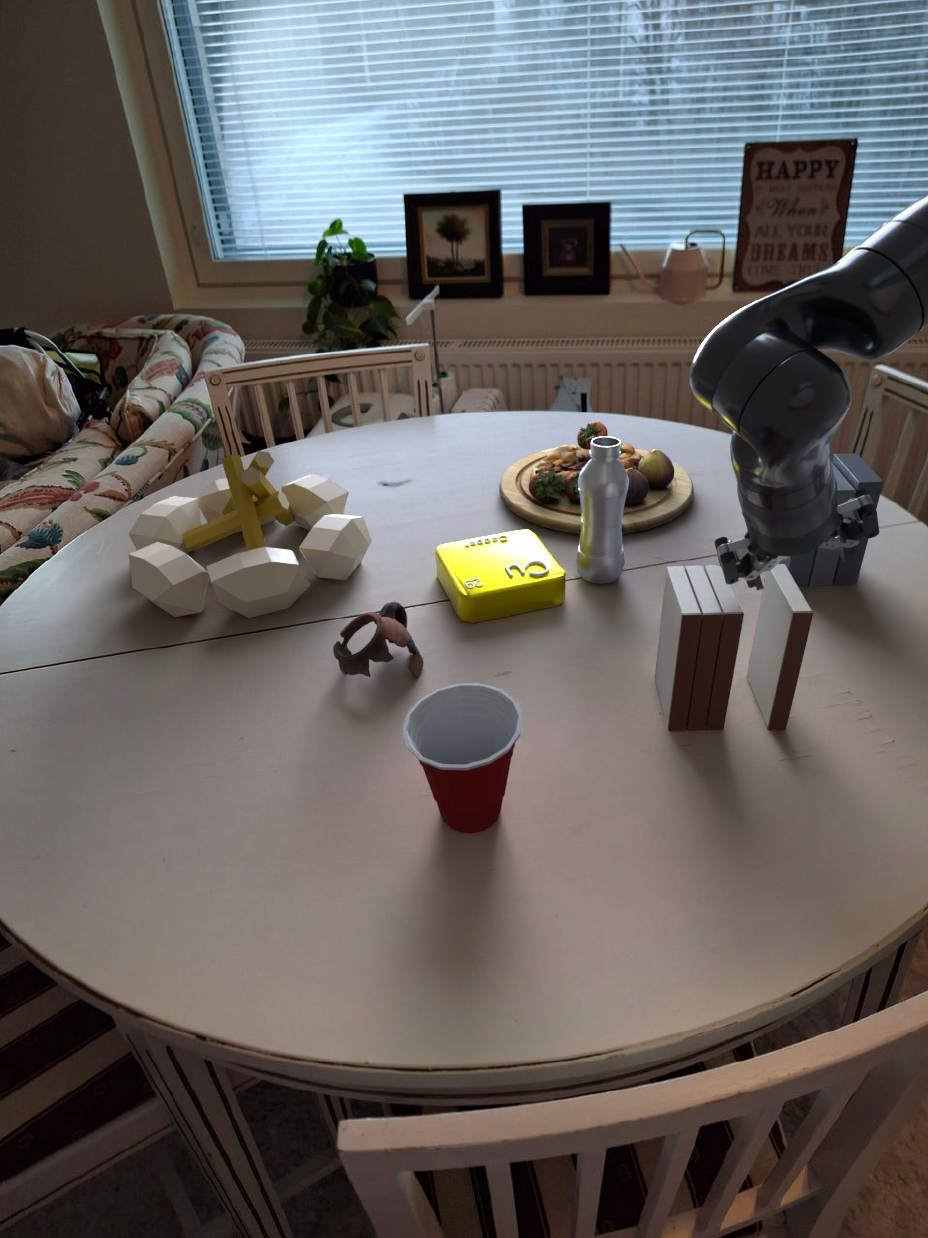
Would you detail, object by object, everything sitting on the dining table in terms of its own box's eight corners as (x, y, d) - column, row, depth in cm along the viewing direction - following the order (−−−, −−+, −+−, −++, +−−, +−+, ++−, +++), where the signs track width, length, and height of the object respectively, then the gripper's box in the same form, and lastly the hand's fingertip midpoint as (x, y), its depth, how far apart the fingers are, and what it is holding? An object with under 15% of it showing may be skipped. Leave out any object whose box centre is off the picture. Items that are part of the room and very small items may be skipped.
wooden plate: (531, 447, 152) (531, 405, 147) (705, 465, 141) (710, 420, 137) (471, 523, 127) (469, 475, 123) (675, 551, 117) (681, 499, 112)
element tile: (531, 552, 119) (531, 523, 116) (570, 604, 107) (571, 573, 104) (433, 571, 116) (431, 541, 113) (462, 626, 104) (460, 595, 101)
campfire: (397, 588, 112) (384, 476, 103) (146, 653, 103) (106, 536, 93) (332, 493, 139) (317, 397, 130) (129, 537, 130) (96, 436, 120)
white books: (705, 676, 93) (722, 564, 85) (723, 730, 85) (744, 614, 77) (654, 677, 93) (666, 566, 85) (668, 731, 86) (682, 615, 77)
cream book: (762, 675, 93) (785, 563, 84) (786, 730, 85) (813, 612, 77) (746, 675, 93) (767, 564, 84) (768, 730, 85) (794, 613, 77)
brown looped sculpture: (420, 697, 93) (378, 656, 88) (358, 712, 98) (315, 673, 93) (440, 619, 101) (402, 577, 96) (382, 636, 106) (343, 597, 101)
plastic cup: (396, 795, 80) (383, 703, 73) (493, 759, 84) (489, 668, 77) (439, 874, 72) (429, 779, 65) (545, 831, 75) (545, 736, 69)
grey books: (833, 551, 115) (857, 452, 106) (856, 584, 107) (883, 481, 99) (766, 553, 115) (784, 455, 107) (785, 586, 108) (806, 483, 100)
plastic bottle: (618, 592, 109) (628, 453, 98) (569, 585, 111) (573, 448, 100) (627, 569, 114) (637, 434, 102) (580, 562, 116) (585, 430, 105)
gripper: (859, 427, 67) (859, 511, 81) (691, 490, 72) (719, 559, 85) (894, 502, 64) (888, 576, 78) (716, 563, 68) (740, 622, 82)
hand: (799, 567), depth 81 cm, fingers open, 8 cm apart
